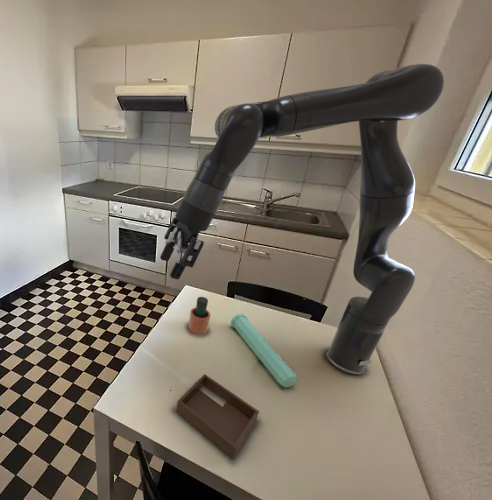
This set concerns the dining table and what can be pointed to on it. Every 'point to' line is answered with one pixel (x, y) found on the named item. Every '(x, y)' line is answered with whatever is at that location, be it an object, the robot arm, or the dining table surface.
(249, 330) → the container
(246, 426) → the tray
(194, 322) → the pen pot
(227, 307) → the dining table surface
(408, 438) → the dining table surface
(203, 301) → the marker
